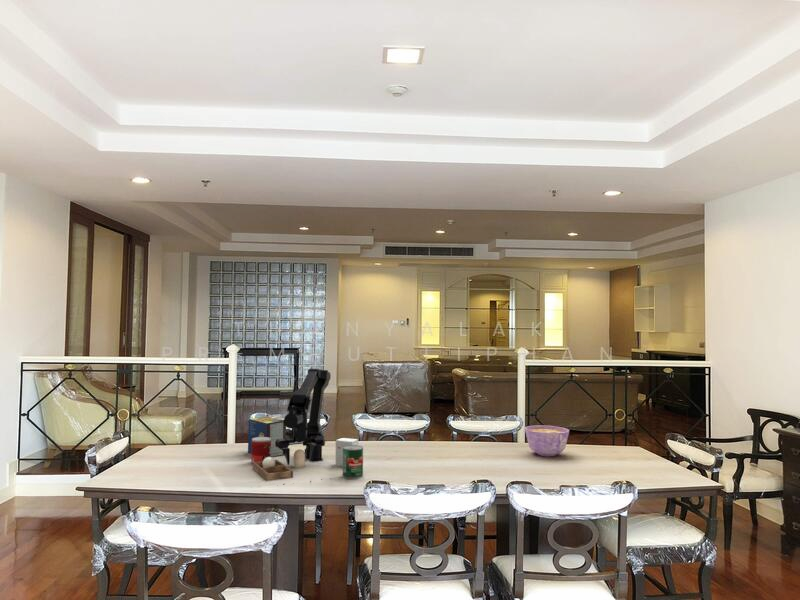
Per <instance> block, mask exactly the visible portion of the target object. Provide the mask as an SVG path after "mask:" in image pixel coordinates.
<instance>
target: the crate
mask: <svg viewBox="0 0 800 600" xmlns="http://www.w3.org/2000/svg"><path fill="white" fill-rule="evenodd" d="M274 460H275V466H273V467H264V468H263V465H262V463H263V462H253V464H252V469H253V471H255V473H257V474H259V476H261V477H262V478H263V479H264V480H265V481H268V482H269V481H276V480H284V479H292V478H293V477H294V471H293V470H292V469H291V468H289V467H288V466H286V464H284V463H283V462H281V461H279V460H278V459H274Z"/></svg>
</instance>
